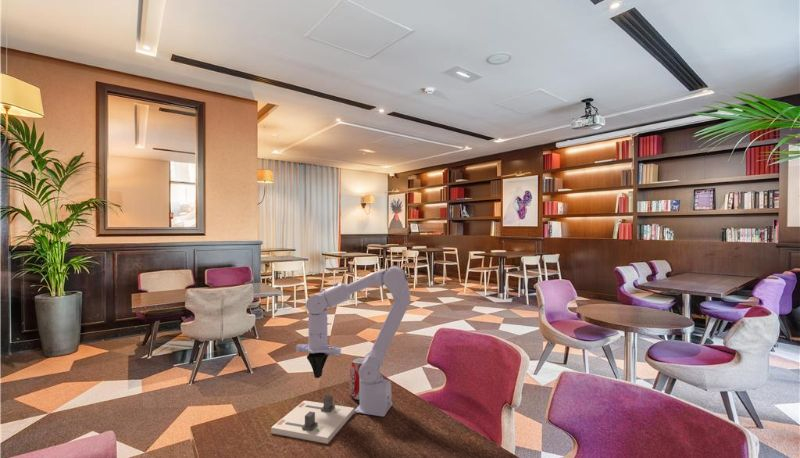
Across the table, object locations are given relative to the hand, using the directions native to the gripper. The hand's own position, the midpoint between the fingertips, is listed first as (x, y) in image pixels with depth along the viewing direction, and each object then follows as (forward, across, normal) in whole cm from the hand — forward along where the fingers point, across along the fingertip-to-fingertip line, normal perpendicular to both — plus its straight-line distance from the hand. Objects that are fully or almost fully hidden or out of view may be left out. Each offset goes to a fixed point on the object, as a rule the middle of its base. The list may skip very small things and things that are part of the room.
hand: (318, 376), depth 108 cm
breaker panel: (+9, +4, -8) cm, 13 cm away
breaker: (+8, +5, -3) cm, 10 cm away
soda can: (+10, +10, +10) cm, 17 cm away
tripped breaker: (+8, +5, -13) cm, 16 cm away
